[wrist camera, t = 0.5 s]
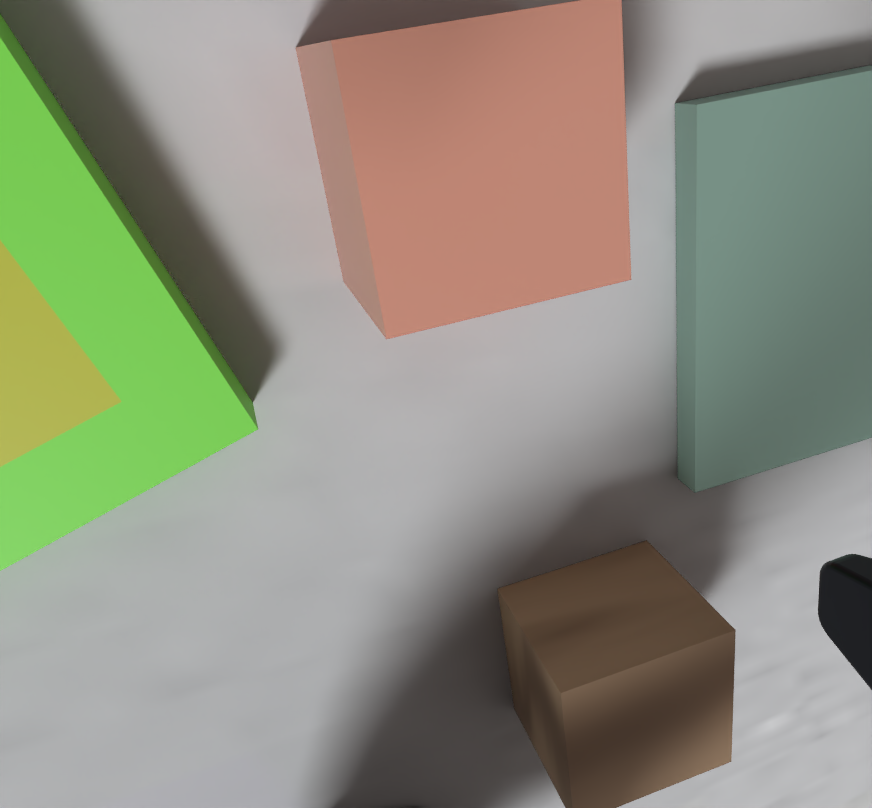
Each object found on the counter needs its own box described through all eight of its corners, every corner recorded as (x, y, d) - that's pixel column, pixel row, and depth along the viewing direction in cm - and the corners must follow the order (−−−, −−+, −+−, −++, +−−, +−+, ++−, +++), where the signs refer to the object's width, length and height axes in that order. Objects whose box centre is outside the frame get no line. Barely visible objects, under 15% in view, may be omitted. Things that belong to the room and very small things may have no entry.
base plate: (963, 390, 28) (988, 400, 27) (677, 478, 26) (694, 492, 25) (1026, 34, 23) (1059, 33, 22) (675, 103, 21) (696, 104, 20)
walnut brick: (648, 658, 29) (731, 761, 25) (513, 706, 28) (574, 824, 24) (645, 538, 27) (735, 630, 22) (496, 587, 26) (560, 693, 21)
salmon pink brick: (538, 236, 21) (631, 279, 17) (342, 280, 20) (386, 339, 16) (519, 11, 19) (621, -7, 14) (295, 47, 18) (331, 40, 13)
